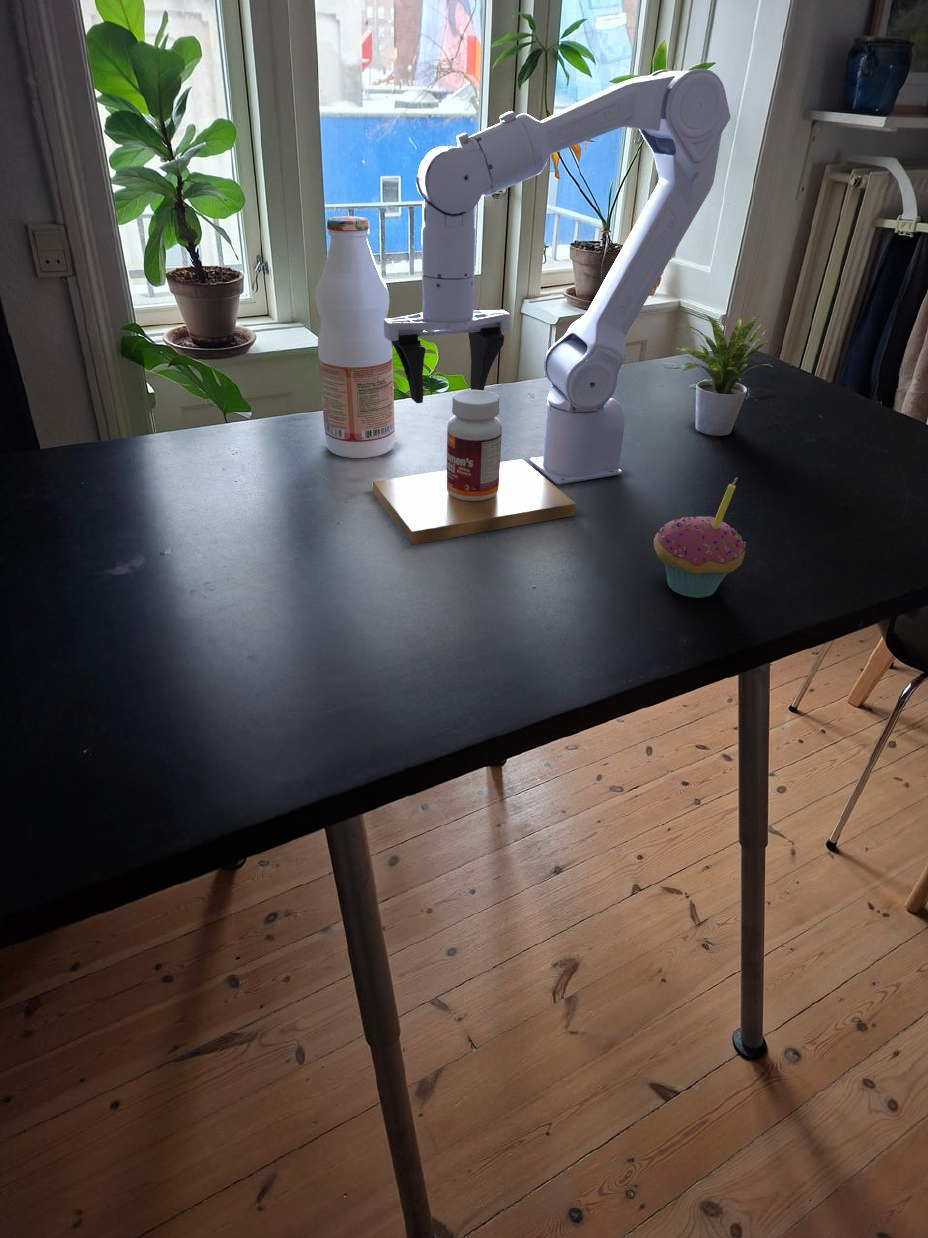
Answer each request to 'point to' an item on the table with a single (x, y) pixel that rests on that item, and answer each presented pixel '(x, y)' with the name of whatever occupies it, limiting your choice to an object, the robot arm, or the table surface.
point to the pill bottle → (474, 446)
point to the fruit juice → (354, 345)
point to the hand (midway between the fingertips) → (447, 396)
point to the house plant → (722, 377)
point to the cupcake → (699, 551)
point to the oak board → (470, 504)
